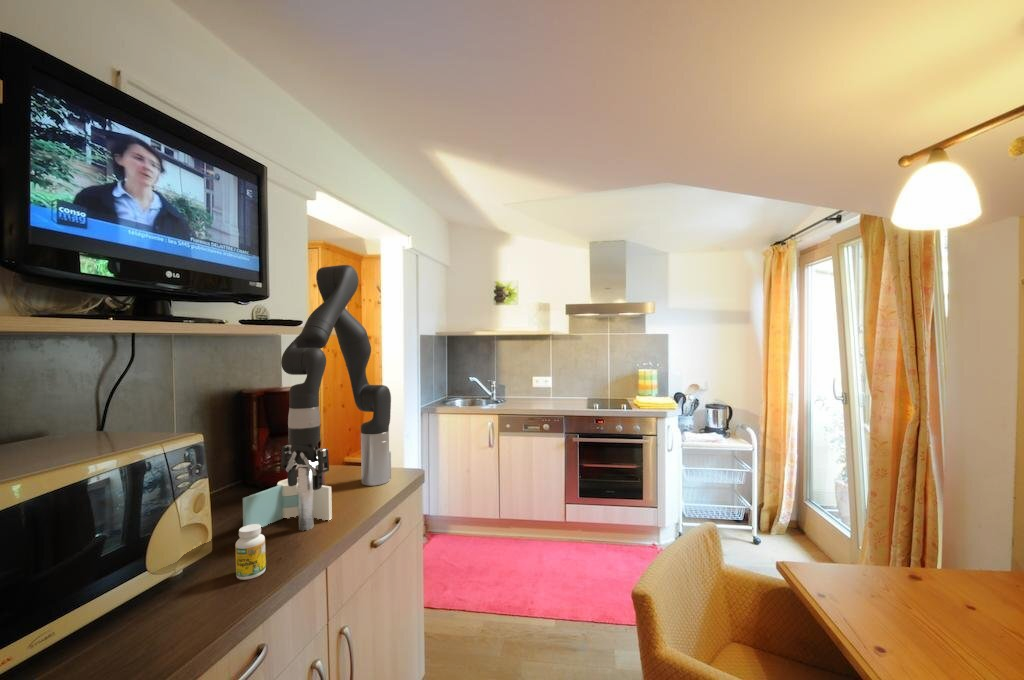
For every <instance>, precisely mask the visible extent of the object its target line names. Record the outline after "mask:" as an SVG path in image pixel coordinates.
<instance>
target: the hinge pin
mask: <svg viewBox="0 0 1024 680" xmlns="http://www.w3.org/2000/svg"><path fill="white" fill-rule="evenodd" d="M297 477H298V504H299V516H298V531H299V530H302V531H301V532H305V531H304V530H308V531H310V530H309V529H311V530H313V529H314V528H313V527H315V526H314V524H315V523H314V520H315V519H314V511H313V473H312V471H311V469H309V468H308V467H307V465H303V464H301V465H299V466H298V467H297ZM312 528H313V529H312Z"/></svg>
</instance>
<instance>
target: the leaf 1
mask: <svg viewBox="0 0 1024 680" xmlns="http://www.w3.org/2000/svg"><path fill="white" fill-rule="evenodd" d="M298 505H299V504H298V495H293V496H282V485H279V486H277V485H276V486H273V487H270V488H268V489H265V490H262V491H259V492H256V493H253V494H250V495H249V496H245V497H242V527H244V526H247V525H251V524H259V525H261V527H262V528H264V527H266V526H269V525H271V524H272V523H275V522H277V521H280V520H282V519H283V507H284V508H286V507H293V506H298ZM270 523H271V524H270ZM268 524H269V525H268Z"/></svg>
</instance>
